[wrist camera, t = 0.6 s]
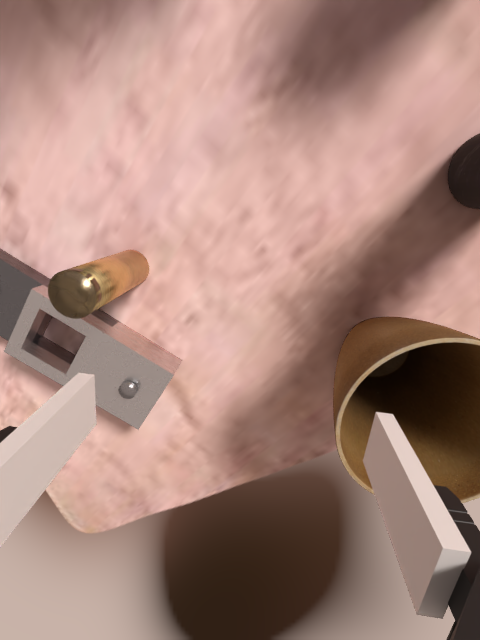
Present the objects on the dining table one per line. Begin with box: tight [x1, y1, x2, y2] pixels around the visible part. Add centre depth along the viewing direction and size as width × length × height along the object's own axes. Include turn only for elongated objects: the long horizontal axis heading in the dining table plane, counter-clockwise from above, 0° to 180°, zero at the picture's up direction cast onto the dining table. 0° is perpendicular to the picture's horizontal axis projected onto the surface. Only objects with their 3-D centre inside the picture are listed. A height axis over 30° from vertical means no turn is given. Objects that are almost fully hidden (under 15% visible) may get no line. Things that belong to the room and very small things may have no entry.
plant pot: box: [333, 317, 480, 503], centre depth 34 cm, size 15×15×16 cm
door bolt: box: [0, 249, 182, 429], centre depth 42 cm, size 9×27×5 cm, turn 57°
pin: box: [48, 250, 149, 319], centre depth 35 cm, size 4×4×13 cm
